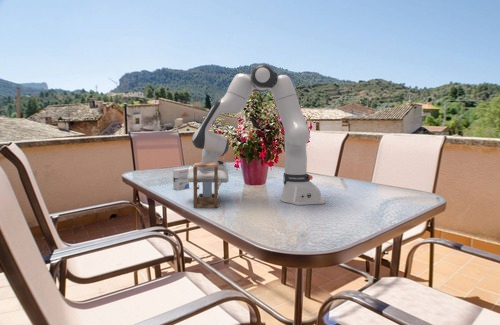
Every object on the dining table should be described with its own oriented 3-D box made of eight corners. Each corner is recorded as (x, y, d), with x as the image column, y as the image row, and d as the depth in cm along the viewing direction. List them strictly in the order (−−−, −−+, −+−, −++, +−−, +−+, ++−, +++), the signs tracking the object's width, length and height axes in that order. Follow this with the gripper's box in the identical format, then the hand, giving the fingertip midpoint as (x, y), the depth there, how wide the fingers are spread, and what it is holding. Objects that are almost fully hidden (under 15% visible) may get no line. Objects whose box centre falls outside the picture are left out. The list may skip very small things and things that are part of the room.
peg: (211, 201, 146) (211, 180, 145) (211, 203, 142) (211, 182, 141) (203, 200, 146) (203, 180, 145) (202, 203, 142) (202, 182, 141)
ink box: (183, 186, 183) (183, 167, 181) (189, 188, 180) (189, 168, 178) (172, 189, 176) (172, 169, 174) (178, 190, 173) (178, 170, 172)
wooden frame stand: (219, 200, 152) (219, 161, 149) (217, 207, 138) (217, 165, 135) (197, 200, 151) (197, 161, 149) (193, 207, 137) (193, 164, 135)
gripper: (187, 162, 149) (184, 185, 141) (228, 162, 150) (228, 185, 141) (189, 169, 154) (186, 192, 146) (229, 169, 155) (228, 192, 146)
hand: (207, 188), depth 144 cm, fingers open, 8 cm apart
